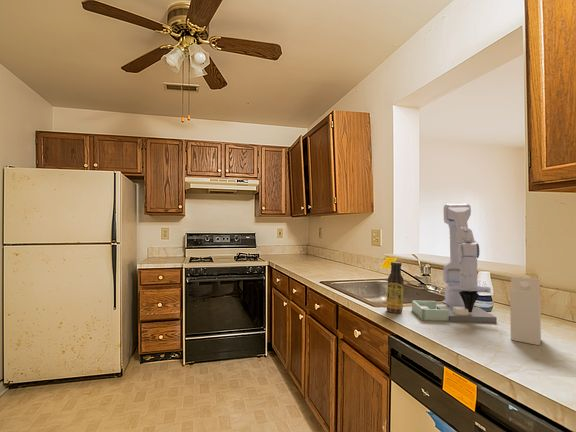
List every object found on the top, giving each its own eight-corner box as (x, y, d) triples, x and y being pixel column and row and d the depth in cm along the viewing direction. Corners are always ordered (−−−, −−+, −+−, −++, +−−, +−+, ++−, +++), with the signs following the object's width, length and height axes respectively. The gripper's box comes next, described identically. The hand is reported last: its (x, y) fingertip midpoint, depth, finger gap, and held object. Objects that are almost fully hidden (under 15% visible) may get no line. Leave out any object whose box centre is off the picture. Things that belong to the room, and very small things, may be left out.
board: (436, 311, 133) (436, 306, 133) (478, 312, 131) (478, 307, 131) (449, 321, 119) (449, 315, 119) (496, 322, 117) (496, 317, 117)
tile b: (452, 311, 124) (452, 306, 124) (463, 312, 124) (463, 306, 124) (456, 314, 120) (456, 309, 120) (468, 315, 120) (468, 309, 120)
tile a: (426, 305, 132) (426, 310, 132) (415, 305, 132) (415, 310, 132) (429, 308, 128) (429, 313, 128) (418, 308, 128) (418, 313, 128)
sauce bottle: (385, 312, 131) (385, 262, 131) (388, 308, 136) (388, 260, 137) (402, 314, 128) (402, 263, 128) (404, 310, 133) (404, 261, 133)
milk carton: (513, 334, 106) (512, 275, 106) (540, 339, 101) (540, 277, 101) (510, 340, 100) (509, 277, 100) (540, 346, 96) (539, 280, 96)
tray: (412, 310, 134) (412, 300, 134) (435, 311, 133) (435, 301, 133) (422, 320, 120) (422, 309, 120) (448, 321, 119) (448, 310, 119)
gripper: (452, 276, 119) (452, 314, 119) (494, 277, 117) (495, 315, 117) (445, 273, 126) (445, 308, 126) (484, 274, 124) (485, 310, 124)
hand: (468, 311), depth 122 cm, fingers closed
